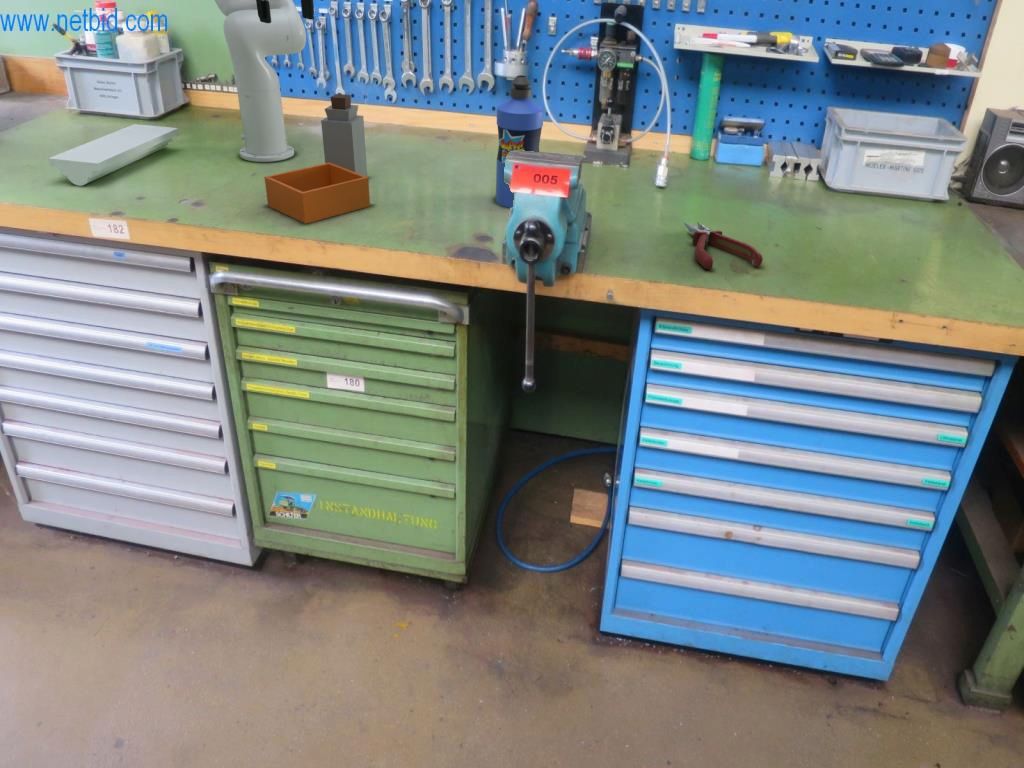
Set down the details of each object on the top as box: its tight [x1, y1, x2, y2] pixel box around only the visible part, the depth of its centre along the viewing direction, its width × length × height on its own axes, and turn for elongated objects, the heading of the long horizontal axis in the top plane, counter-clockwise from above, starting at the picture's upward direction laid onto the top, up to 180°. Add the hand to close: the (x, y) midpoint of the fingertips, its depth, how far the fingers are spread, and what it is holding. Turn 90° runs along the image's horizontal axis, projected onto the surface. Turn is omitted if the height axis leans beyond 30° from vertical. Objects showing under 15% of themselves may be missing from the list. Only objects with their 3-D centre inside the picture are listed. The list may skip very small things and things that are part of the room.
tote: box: [263, 162, 371, 225], centre depth 159 cm, size 13×15×6 cm
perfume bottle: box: [320, 93, 368, 177], centre depth 170 cm, size 7×7×18 cm
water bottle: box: [495, 74, 545, 209], centre depth 160 cm, size 9×9×25 cm
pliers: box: [683, 221, 764, 270], centre depth 147 cm, size 12×20×3 cm, turn 12°
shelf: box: [48, 123, 180, 187], centre depth 177 cm, size 12×30×5 cm, turn 168°
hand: (287, 20), depth 157 cm, fingers open, 9 cm apart
